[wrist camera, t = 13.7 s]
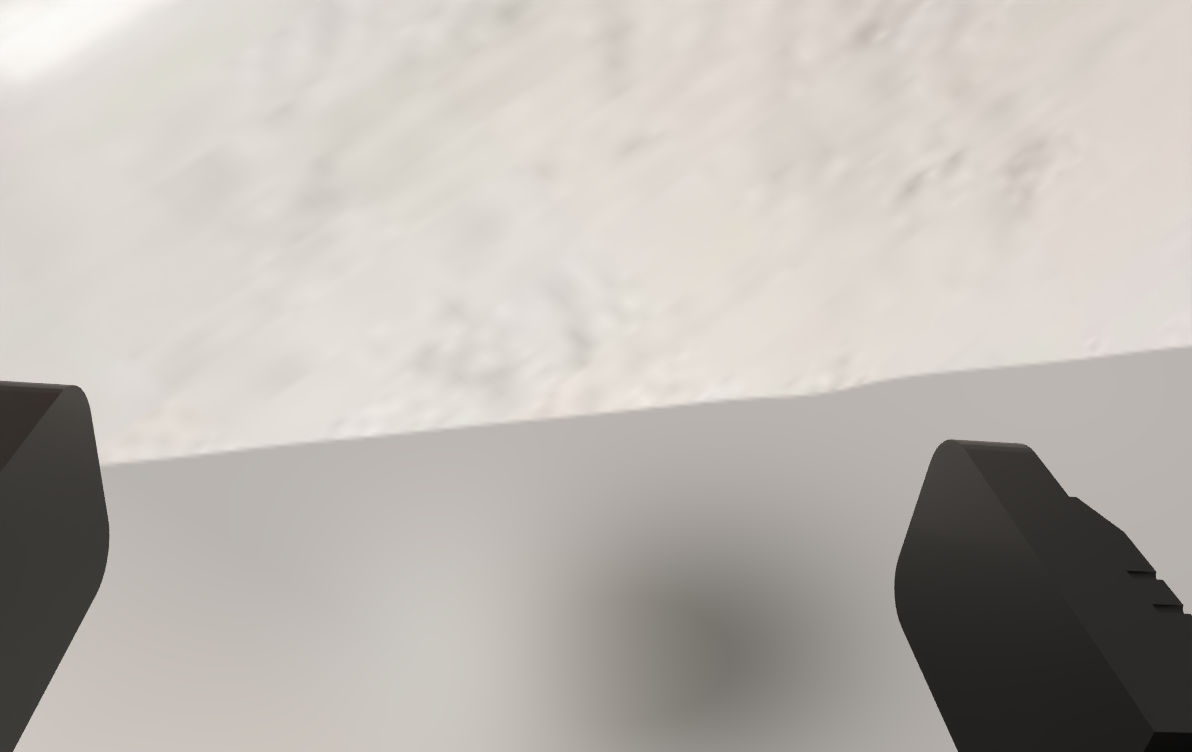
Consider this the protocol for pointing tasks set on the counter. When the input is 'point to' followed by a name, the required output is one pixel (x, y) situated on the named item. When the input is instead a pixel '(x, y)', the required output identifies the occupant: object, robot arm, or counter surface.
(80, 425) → the robot arm
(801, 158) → the counter surface
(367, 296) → the counter surface
